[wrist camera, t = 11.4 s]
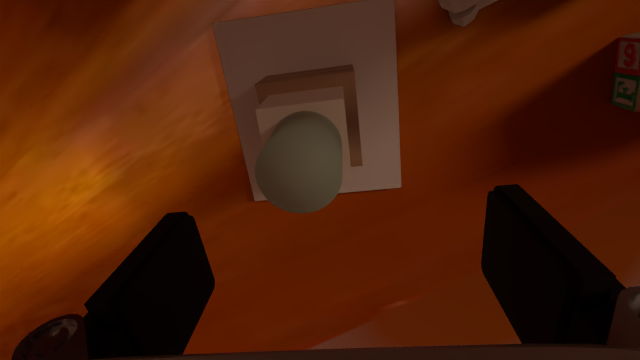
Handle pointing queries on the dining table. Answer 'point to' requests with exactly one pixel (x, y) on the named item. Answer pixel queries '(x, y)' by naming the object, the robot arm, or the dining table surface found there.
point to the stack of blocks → (627, 73)
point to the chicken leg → (464, 9)
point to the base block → (319, 81)
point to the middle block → (316, 100)
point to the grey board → (315, 53)
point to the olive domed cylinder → (301, 163)
